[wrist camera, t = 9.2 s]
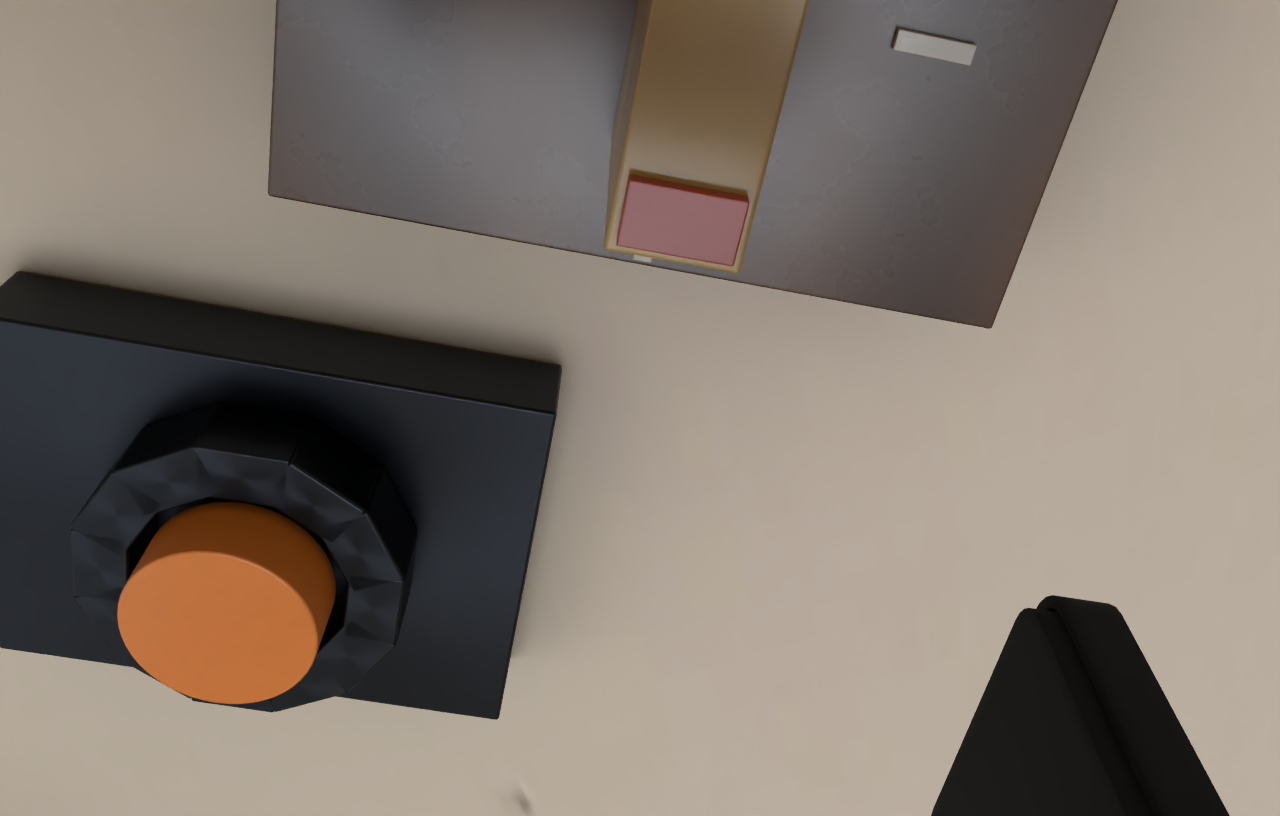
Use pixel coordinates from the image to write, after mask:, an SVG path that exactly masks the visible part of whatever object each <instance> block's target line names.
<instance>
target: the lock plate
mask: <svg viewBox="0 0 1280 816" xmlns="http://www.w3.org/2000/svg"><path fill="white" fill-rule="evenodd" d="M1117 1H1118V0H809V3H808V7H807V11H806V15H805V19H804V22H803V26H802V30H801V34H800V38H799V42H798V46H797V50H796V54H795V58H794V62H793V65H792V69H791V73H790V77H789V81H788V85H787V89H786V93H785V97H784V101H783V105H782V108H781V112H780V116H779V120H778V124H777V128H776V132H775V136H774V140H773V144H772V148H771V151H770V155H769V159H768V163H767V167H766V171H765V175H764V179H763V183H762V187H761V191H760V194H759V198H758V202H757V206H756V210H755V214H754V218H753V222H752V226H751V230H750V234H749V237H748V241H747V245H746V249H745V253H744V257H743V261H742V265H741V269H740V271H739V272H738V273H733V272H727V271H722V270H716V269H711V268H705V267H700V266H694V265H689V264H683V263H678V262H672V261H667V260H661V259H656V258H650V257H644V256H639V255H633V254H628V253H622V252H617V251H611V250H607V249H605V246H604V240H605V226H606V211H607V197H608V182H609V167H610V153H611V140H612V134H613V129H614V124H615V118H616V113H617V107H618V102H619V97H620V91H621V86H622V81H623V75H624V70H625V65H626V59H627V54H628V48H629V43H630V38H631V32H632V27H633V22H634V16H635V11H636V6H637V0H277V1H276V23H275V45H274V67H273V90H272V112H271V134H270V156H269V178H268V194H269V195H270V196H273V197H279V198H284V199H290V200H295V201H301V202H306V203H311V204H317V205H322V206H328V207H333V208H338V209H344V210H349V211H355V212H360V213H366V214H371V215H376V216H382V217H387V218H393V219H398V220H404V221H409V222H414V223H420V224H425V225H431V226H436V227H442V228H447V229H452V230H458V231H463V232H469V233H474V234H479V235H485V236H490V237H496V238H501V239H507V240H512V241H517V242H523V243H528V244H534V245H539V246H545V247H550V248H555V249H561V250H566V251H572V252H577V253H583V254H588V255H593V256H599V257H604V258H610V259H615V260H621V261H626V262H631V263H637V264H642V265H648V266H653V267H658V268H664V269H669V270H675V271H680V272H686V273H691V274H696V275H702V276H707V277H713V278H718V279H724V280H729V281H734V282H740V283H745V284H751V285H756V286H762V287H767V288H772V289H778V290H783V291H789V292H794V293H799V294H805V295H810V296H816V297H821V298H827V299H832V300H837V301H843V302H848V303H854V304H859V305H865V306H870V307H875V308H881V309H886V310H892V311H897V312H903V313H908V314H913V315H919V316H924V317H930V318H935V319H941V320H946V321H951V322H957V323H962V324H968V325H973V326H978V327H984V328H992V326H993V323H994V320H995V318H996V315H997V313H998V310H999V307H1000V305H1001V302H1002V300H1003V297H1004V294H1005V292H1006V289H1007V287H1008V284H1009V282H1010V279H1011V276H1012V274H1013V271H1014V269H1015V266H1016V263H1017V261H1018V258H1019V256H1020V253H1021V250H1022V248H1023V245H1024V243H1025V240H1026V237H1027V235H1028V232H1029V230H1030V227H1031V224H1032V222H1033V219H1034V217H1035V214H1036V211H1037V209H1038V206H1039V204H1040V201H1041V198H1042V196H1043V193H1044V191H1045V188H1046V185H1047V183H1048V180H1049V178H1050V175H1051V172H1052V170H1053V167H1054V165H1055V162H1056V159H1057V157H1058V154H1059V152H1060V149H1061V147H1062V144H1063V141H1064V139H1065V136H1066V134H1067V131H1068V128H1069V126H1070V123H1071V121H1072V118H1073V115H1074V113H1075V110H1076V108H1077V105H1078V102H1079V100H1080V97H1081V95H1082V92H1083V89H1084V87H1085V84H1086V82H1087V79H1088V76H1089V74H1090V71H1091V69H1092V66H1093V63H1094V61H1095V58H1096V56H1097V53H1098V50H1099V48H1100V45H1101V43H1102V40H1103V37H1104V35H1105V32H1106V30H1107V27H1108V24H1109V22H1110V19H1111V17H1112V14H1113V12H1114V9H1115V6H1116V4H1117Z"/></svg>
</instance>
